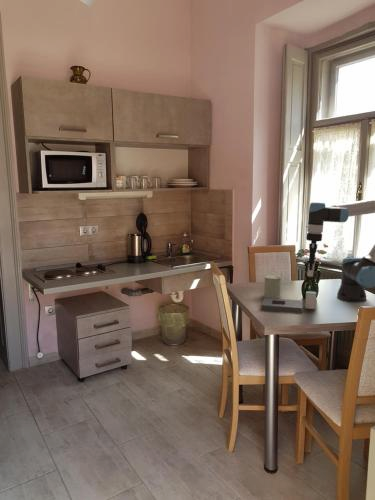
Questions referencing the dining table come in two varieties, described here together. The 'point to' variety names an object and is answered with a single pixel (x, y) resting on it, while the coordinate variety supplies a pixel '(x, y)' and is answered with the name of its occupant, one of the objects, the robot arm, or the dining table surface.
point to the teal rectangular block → (310, 300)
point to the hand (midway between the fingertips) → (310, 273)
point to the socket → (282, 305)
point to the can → (272, 286)
